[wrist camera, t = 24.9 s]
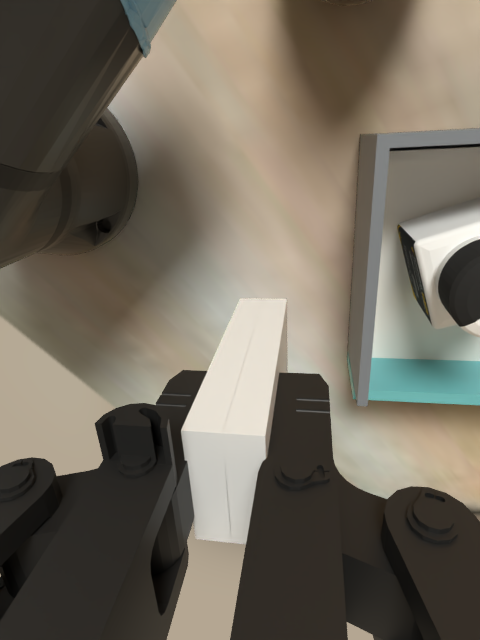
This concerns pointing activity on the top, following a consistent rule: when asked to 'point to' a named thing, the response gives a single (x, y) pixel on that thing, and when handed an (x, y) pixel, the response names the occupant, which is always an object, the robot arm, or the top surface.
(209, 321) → the top surface
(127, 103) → the top surface
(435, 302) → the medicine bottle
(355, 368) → the bay
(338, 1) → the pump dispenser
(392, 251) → the tray
